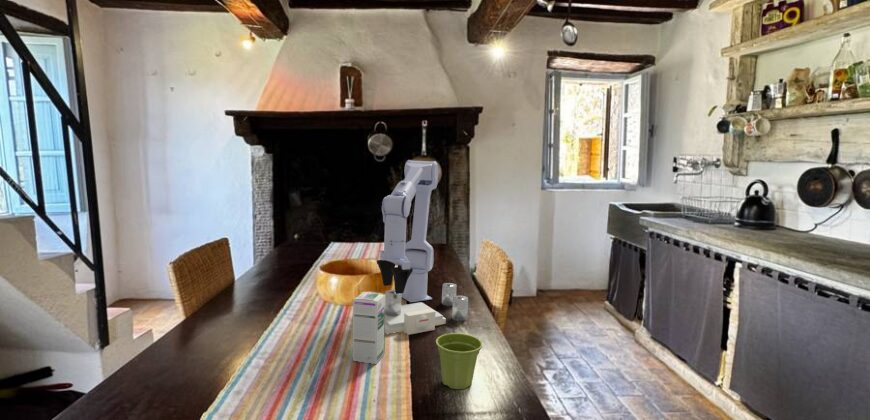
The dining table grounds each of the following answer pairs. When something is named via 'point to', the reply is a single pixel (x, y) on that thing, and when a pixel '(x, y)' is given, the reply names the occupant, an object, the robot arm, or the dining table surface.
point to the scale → (414, 319)
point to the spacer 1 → (392, 303)
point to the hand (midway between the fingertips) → (393, 289)
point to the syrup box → (369, 327)
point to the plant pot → (458, 358)
